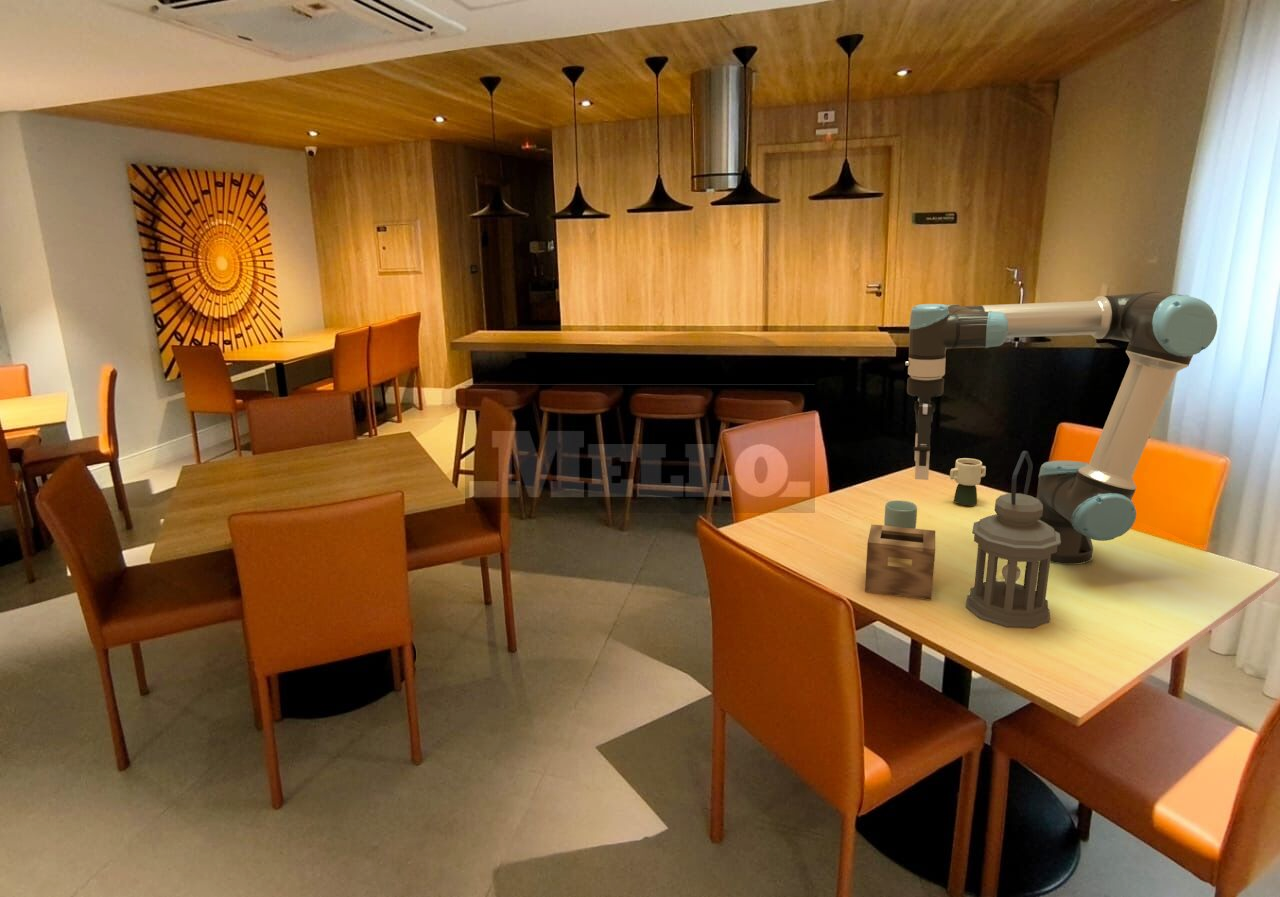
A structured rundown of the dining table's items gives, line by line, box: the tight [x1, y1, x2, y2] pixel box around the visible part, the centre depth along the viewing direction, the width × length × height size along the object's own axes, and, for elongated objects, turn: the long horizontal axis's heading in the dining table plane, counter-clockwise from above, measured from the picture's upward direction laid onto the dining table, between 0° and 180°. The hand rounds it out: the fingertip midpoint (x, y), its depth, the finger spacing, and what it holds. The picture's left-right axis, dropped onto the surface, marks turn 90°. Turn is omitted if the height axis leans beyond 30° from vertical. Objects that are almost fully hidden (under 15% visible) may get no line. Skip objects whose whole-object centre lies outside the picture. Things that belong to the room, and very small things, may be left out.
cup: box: [883, 500, 918, 529], centre depth 194 cm, size 8×8×10 cm
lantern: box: [964, 450, 1061, 630], centre depth 155 cm, size 17×17×35 cm
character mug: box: [949, 457, 987, 507], centre depth 218 cm, size 11×7×13 cm, turn 98°
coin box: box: [864, 523, 936, 601], centre depth 170 cm, size 14×11×12 cm
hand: (921, 469), depth 169 cm, fingers open, 13 cm apart
